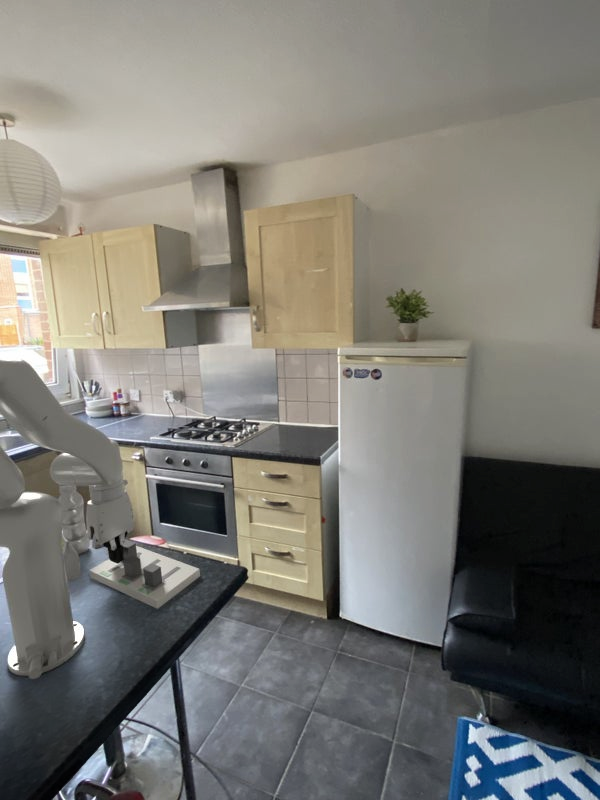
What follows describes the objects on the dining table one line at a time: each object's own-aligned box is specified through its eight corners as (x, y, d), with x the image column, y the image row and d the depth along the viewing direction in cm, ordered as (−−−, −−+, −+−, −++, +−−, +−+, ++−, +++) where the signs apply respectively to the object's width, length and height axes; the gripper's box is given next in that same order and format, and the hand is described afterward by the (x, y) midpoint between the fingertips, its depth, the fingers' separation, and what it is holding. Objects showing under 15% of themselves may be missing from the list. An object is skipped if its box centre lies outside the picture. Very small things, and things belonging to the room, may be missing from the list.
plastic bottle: (96, 548, 113) (87, 480, 110) (74, 561, 107) (63, 490, 104) (80, 544, 116) (70, 477, 112) (58, 556, 110) (47, 486, 106)
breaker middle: (144, 573, 97) (143, 557, 97) (132, 581, 94) (130, 565, 94) (134, 569, 99) (133, 554, 98) (122, 577, 96) (120, 561, 95)
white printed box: (74, 565, 106) (69, 529, 104) (81, 576, 101) (76, 539, 99) (58, 571, 104) (52, 534, 102) (64, 582, 99) (59, 545, 97)
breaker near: (165, 581, 94) (163, 565, 93) (152, 590, 91) (150, 574, 90) (154, 577, 96) (152, 561, 95) (141, 585, 93) (140, 569, 92)
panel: (200, 576, 99) (199, 568, 99) (157, 608, 88) (156, 600, 88) (134, 551, 111) (134, 544, 111) (90, 577, 100) (89, 569, 100)
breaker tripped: (140, 556, 104) (138, 542, 104) (128, 563, 101) (126, 549, 101) (130, 553, 106) (129, 539, 106) (118, 560, 103) (116, 545, 102)
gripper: (124, 478, 105) (132, 542, 109) (67, 501, 93) (79, 573, 96) (143, 482, 102) (151, 549, 105) (87, 507, 89) (99, 582, 93)
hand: (117, 560), depth 101 cm, fingers closed
